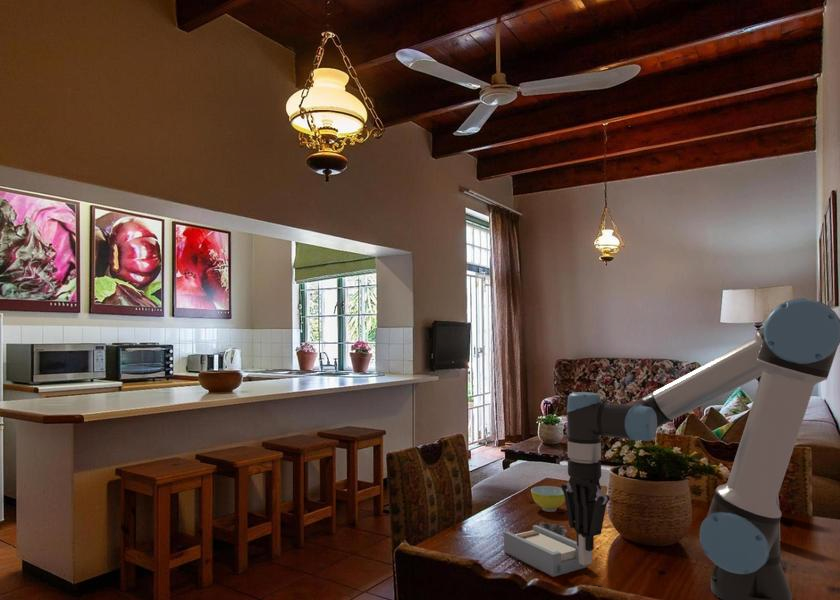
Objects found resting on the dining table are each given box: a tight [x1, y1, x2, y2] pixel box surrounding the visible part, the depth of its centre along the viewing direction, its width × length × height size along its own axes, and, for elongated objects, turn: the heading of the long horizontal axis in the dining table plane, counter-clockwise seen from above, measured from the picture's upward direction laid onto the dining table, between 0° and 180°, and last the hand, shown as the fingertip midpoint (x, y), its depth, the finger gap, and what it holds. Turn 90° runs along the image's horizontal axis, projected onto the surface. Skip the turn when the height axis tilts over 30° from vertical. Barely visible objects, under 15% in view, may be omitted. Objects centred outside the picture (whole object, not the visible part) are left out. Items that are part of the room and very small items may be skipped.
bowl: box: [530, 485, 566, 513], centre depth 184 cm, size 11×12×6 cm
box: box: [503, 524, 588, 578], centre depth 144 cm, size 18×11×5 cm, turn 31°
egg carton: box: [539, 520, 568, 538], centre depth 157 cm, size 11×8×4 cm
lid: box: [515, 529, 576, 562], centre depth 144 cm, size 16×8×2 cm, turn 31°
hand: (585, 563), depth 132 cm, fingers closed
